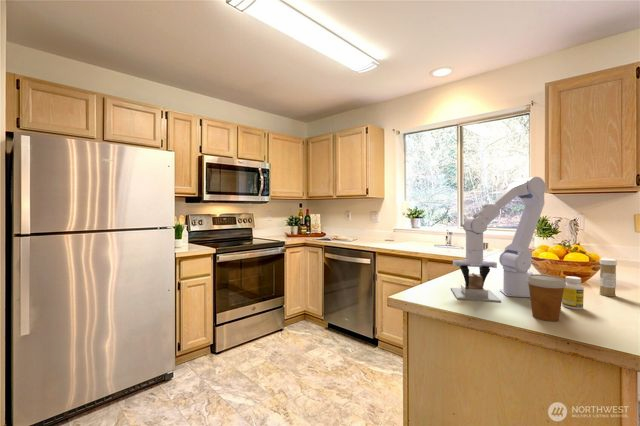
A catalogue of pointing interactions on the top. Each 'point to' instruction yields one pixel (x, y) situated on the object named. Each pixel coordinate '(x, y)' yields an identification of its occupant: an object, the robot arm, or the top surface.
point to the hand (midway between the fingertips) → (474, 286)
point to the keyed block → (475, 281)
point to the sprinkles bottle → (607, 277)
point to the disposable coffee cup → (546, 296)
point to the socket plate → (461, 296)
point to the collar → (474, 291)
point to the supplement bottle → (573, 293)
